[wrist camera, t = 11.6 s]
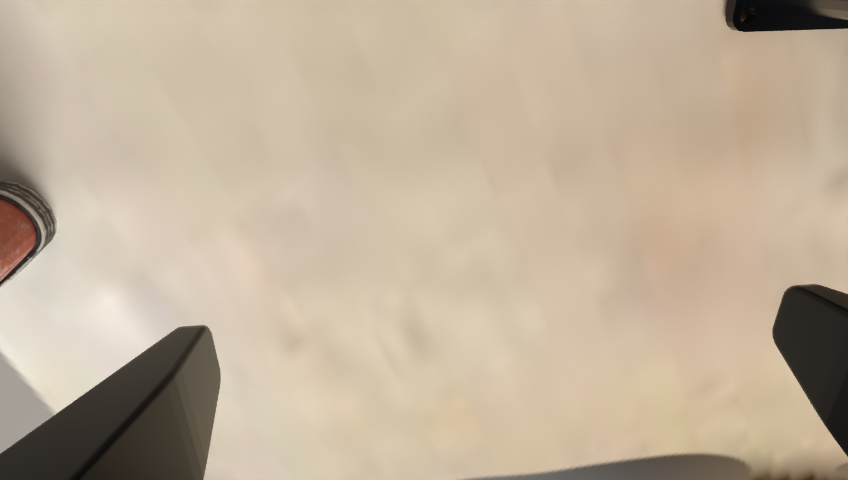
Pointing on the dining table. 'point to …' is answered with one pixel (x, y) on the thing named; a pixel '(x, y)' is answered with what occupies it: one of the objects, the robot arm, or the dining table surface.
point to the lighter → (22, 228)
